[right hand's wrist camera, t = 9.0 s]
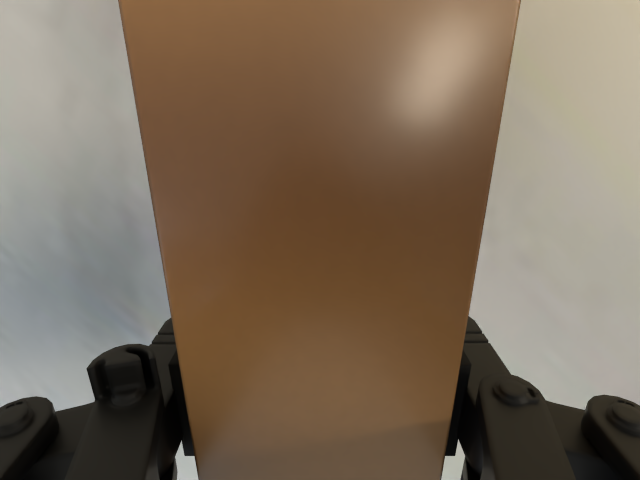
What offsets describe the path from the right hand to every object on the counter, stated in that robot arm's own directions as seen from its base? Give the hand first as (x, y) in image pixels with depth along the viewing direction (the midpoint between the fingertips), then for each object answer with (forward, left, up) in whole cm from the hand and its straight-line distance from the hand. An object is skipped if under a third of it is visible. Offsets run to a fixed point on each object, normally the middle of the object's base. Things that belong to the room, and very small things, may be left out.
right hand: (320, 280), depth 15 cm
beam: (-2, -24, -1) cm, 24 cm away
